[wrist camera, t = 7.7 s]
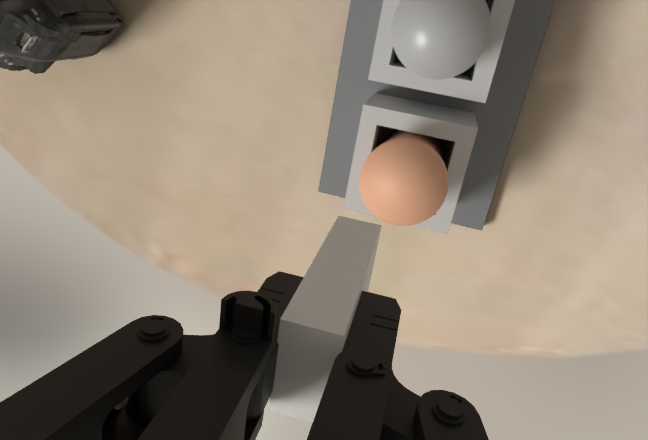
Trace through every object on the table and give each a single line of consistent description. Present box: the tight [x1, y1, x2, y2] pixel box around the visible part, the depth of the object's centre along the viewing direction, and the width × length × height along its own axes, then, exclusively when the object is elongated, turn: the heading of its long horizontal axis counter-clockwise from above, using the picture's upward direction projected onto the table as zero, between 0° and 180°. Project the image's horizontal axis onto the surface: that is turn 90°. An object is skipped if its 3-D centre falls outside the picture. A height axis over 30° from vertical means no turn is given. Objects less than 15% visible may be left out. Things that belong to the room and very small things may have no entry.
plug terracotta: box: [359, 129, 448, 226], centre depth 30 cm, size 5×5×6 cm
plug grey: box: [391, 0, 491, 80], centre depth 28 cm, size 5×5×6 cm
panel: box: [318, 0, 555, 234], centre depth 31 cm, size 17×12×6 cm
